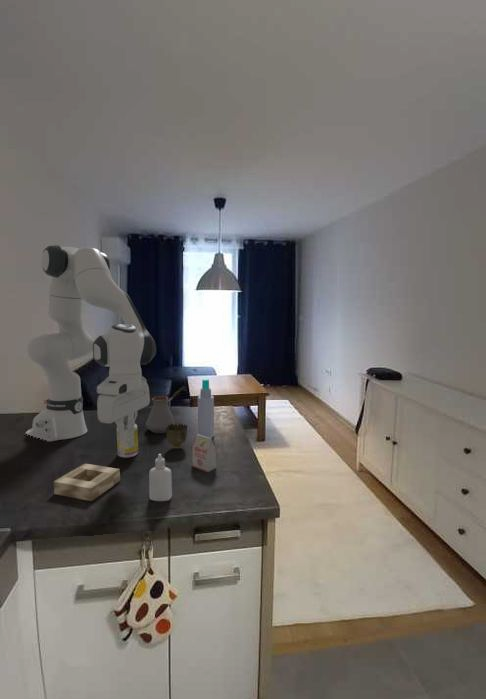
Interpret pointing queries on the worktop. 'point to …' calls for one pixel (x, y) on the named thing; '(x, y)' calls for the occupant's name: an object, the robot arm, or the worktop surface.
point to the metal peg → (127, 432)
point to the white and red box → (203, 453)
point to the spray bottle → (206, 411)
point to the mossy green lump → (176, 435)
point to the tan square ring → (87, 482)
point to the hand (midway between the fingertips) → (126, 428)
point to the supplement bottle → (132, 450)
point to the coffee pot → (161, 414)
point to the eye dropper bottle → (160, 481)
